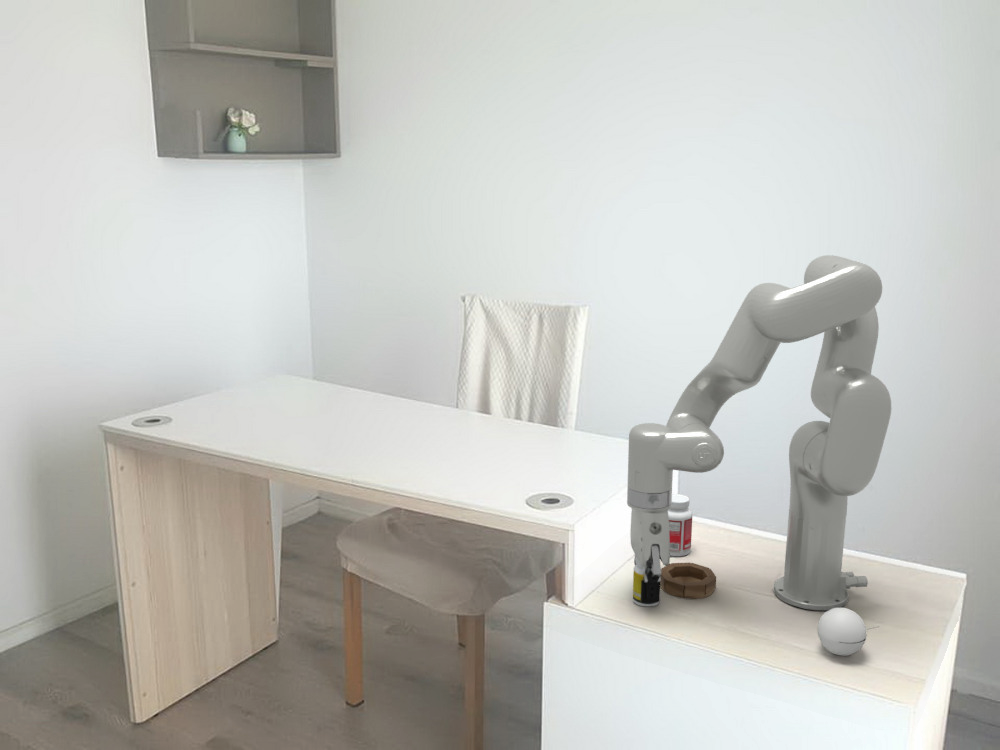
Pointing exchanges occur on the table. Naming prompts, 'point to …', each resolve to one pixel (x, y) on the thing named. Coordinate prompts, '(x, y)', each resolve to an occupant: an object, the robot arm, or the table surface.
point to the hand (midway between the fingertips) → (646, 593)
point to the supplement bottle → (639, 584)
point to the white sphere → (842, 631)
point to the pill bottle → (680, 525)
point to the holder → (687, 580)
